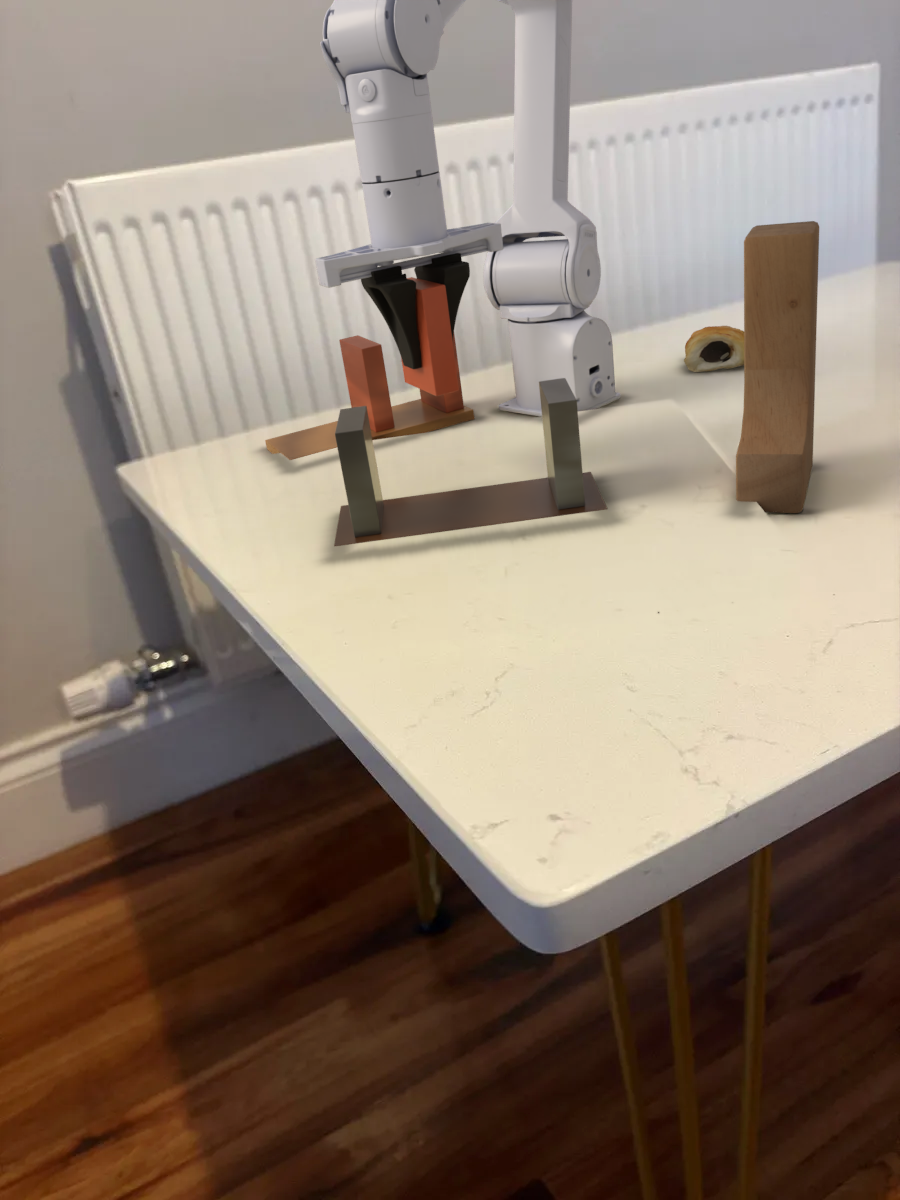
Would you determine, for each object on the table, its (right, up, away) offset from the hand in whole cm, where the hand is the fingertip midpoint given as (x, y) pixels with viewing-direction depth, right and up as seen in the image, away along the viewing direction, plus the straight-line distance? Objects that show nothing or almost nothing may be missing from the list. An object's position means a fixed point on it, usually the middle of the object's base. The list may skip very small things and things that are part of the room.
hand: (427, 362), depth 80 cm
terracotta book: (0, -2, +1) cm, 2 cm away
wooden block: (+26, -11, -5) cm, 28 cm away
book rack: (-6, -2, +20) cm, 21 cm away
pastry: (+30, +6, +27) cm, 40 cm away
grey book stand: (+3, -12, -2) cm, 13 cm away
